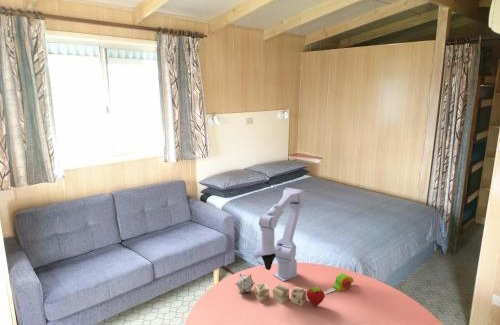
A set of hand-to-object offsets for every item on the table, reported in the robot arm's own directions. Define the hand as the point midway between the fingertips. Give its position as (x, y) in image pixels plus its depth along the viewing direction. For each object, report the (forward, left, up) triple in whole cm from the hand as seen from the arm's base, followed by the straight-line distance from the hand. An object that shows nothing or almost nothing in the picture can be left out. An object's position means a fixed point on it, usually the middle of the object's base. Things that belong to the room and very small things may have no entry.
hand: (268, 269), depth 156 cm
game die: (+9, -5, -11) cm, 15 cm away
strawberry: (-8, +22, -11) cm, 26 cm away
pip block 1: (+6, +3, -11) cm, 12 cm away
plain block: (0, +9, -11) cm, 14 cm away
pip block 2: (-5, +15, -11) cm, 19 cm away
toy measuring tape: (-26, +18, -11) cm, 33 cm away
